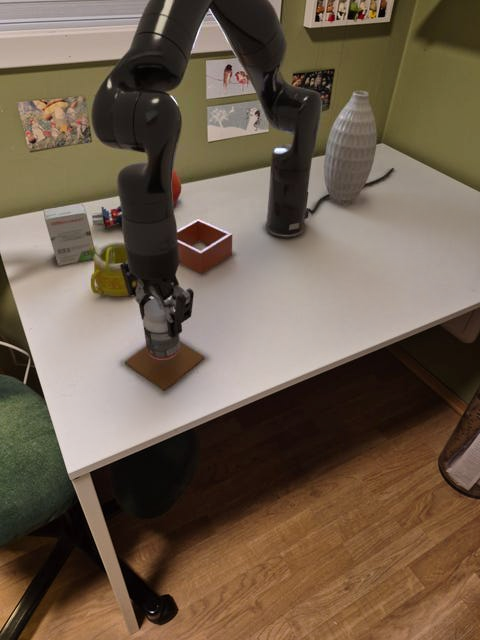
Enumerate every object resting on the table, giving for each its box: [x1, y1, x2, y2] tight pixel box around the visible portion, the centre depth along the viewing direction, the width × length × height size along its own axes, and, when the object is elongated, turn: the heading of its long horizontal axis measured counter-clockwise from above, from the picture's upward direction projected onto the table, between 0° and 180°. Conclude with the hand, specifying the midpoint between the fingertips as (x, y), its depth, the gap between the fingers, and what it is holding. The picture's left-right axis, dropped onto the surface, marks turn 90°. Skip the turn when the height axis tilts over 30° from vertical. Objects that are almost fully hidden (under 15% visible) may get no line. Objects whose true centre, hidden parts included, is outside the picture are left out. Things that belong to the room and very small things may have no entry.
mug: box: [90, 241, 136, 297], centre depth 95 cm, size 13×11×12 cm
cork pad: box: [124, 341, 206, 392], centre depth 83 cm, size 10×10×1 cm
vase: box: [323, 90, 378, 205], centre depth 122 cm, size 13×13×28 cm
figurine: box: [91, 204, 122, 230], centre depth 117 cm, size 9×4×15 cm
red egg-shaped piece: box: [172, 169, 182, 205], centre depth 124 cm, size 8×8×11 cm
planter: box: [177, 218, 233, 275], centre depth 107 cm, size 11×11×6 cm
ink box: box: [43, 203, 96, 267], centre depth 103 cm, size 9×5×12 cm, turn 112°
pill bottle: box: [142, 297, 181, 360], centre depth 78 cm, size 6×6×10 cm
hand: (161, 326), depth 78 cm, fingers closed on pill bottle, 5 cm apart
